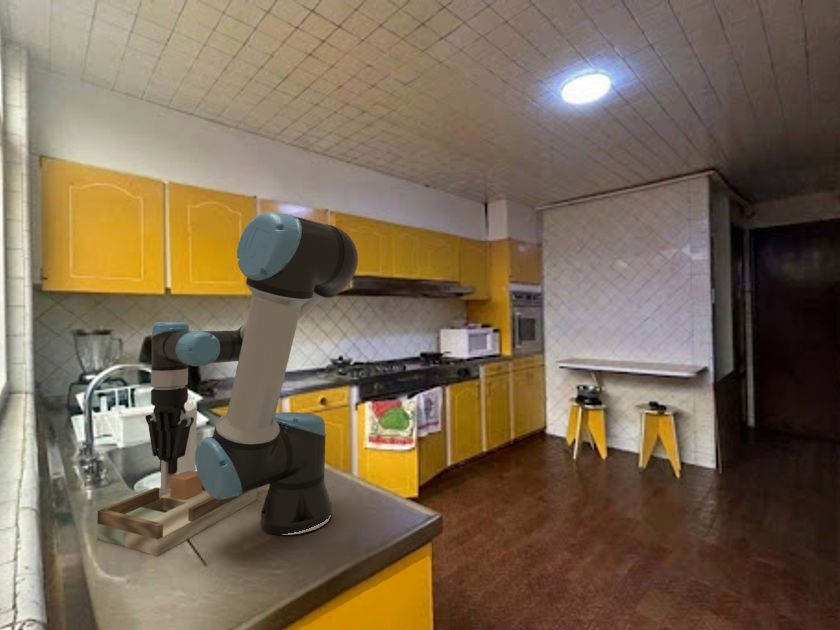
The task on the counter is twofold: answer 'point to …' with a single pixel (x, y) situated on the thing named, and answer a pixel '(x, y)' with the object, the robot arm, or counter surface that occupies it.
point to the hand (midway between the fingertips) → (168, 486)
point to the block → (185, 485)
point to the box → (164, 519)
